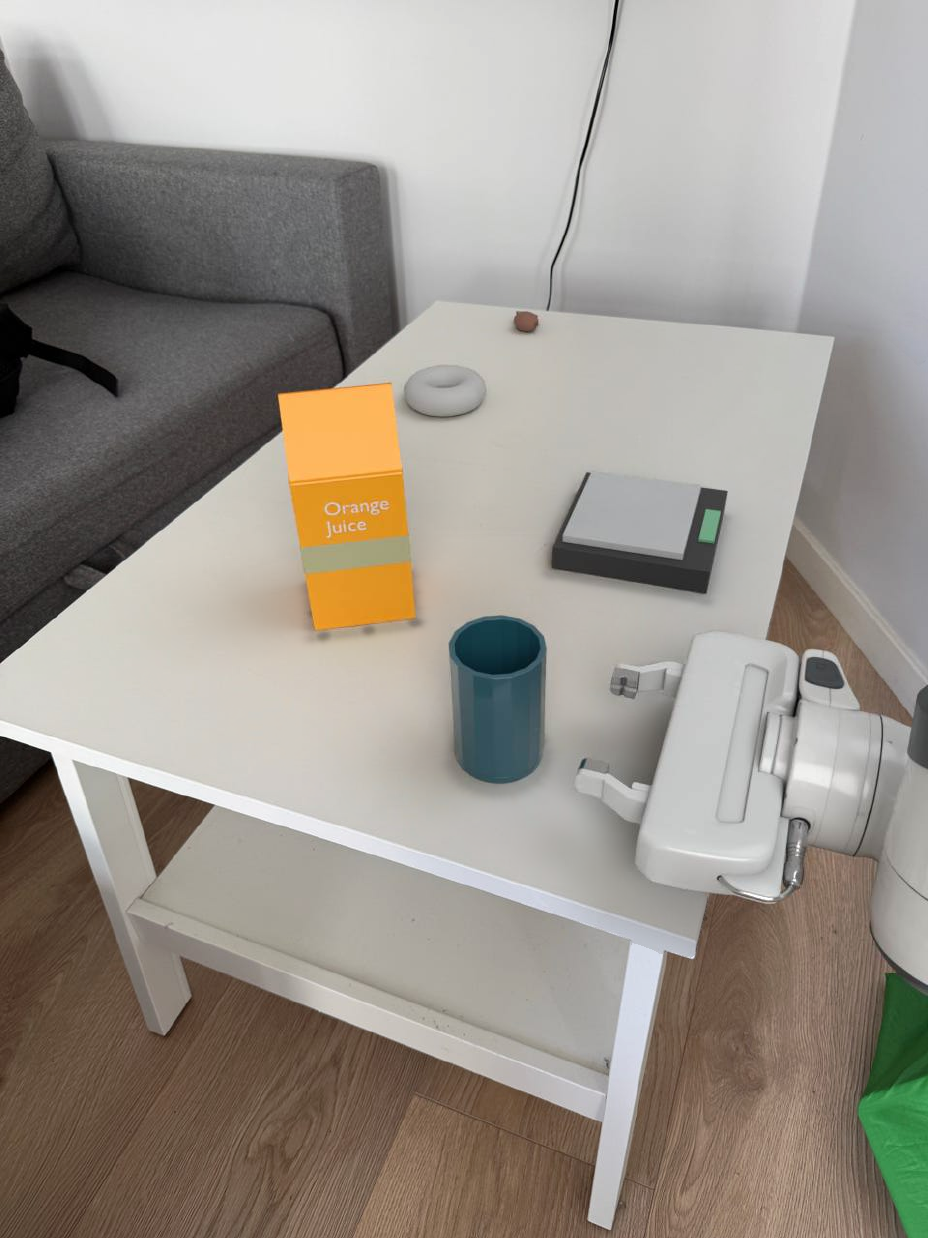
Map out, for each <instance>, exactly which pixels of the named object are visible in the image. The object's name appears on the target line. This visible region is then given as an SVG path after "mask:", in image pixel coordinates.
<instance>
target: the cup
mask: <svg viewBox="0 0 928 1238" xmlns="http://www.w3.org/2000/svg"><path fill="white" fill-rule="evenodd" d="M547 649H548V648H547V644H546V638H545V636H544V634H543V633H542V632H541V631H540V630H539V629H538V628H537V627H536V625H534V624H532V623H530V622H528V621H526V620H524V619H522V618H519V617H514V616H508V615H503V614H501V615H500V614H499V615H498V614H497V615H487V616H485V615H484V616H481V617H478V618H475V619H473V620H469V621H467V622H465V623H464V624H463V625H461V626H459V628H457V629H456V630H454V632H453V635H452V637H451V638H450V640H449V642H448V657H449V671H450V672H449V673H450V691H451V706H452V707H451V708H452V722H453V741H454V753H455V758H456V761H457V763H458V765H459V766H460V767H461V769H462V770H463V771H464V772H465V773H466V774H468V775H469V776H470V777H472V778H474V779H477V780H479V781H482V782H485V783H491V784H507V783H513V782H516V781H519V780H521V779H524V778H526V777H528V776H529V775H531V774H532V773H533V772H534V771H535V770H536V769H537V768H538V766H539V765H540V763H541V761H542V758H543V756H544V748H545V725H546V723H545V721H546V690H547V689H546V688H547V653H548V651H547Z"/></svg>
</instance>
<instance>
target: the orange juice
mask: <svg viewBox="0 0 928 1238" xmlns="http://www.w3.org/2000/svg"><path fill="white" fill-rule="evenodd" d="M393 392H394V391H393V384H392V382H382V383H372V384H364V385H363V384H362V385H352V386H351V385H350V386H342V387H331V388H322V389H312V390H302V391H300V390H299V391H290V392H282V393H281V392H280V393H277V397H278V404H279V413H280V419H281V428H282V435H283V436H282V437H283V443H284V451H285V458H286V466H287V472H288V475H287V476H288V487H289V493H290V497H291V503H292V510H293V515H294V520H295V526H296V532H297V538H298V541H299V551H300V557H301V563H302V568H303V574H304V577H305V582H306V587H307V594H308V599H309V604H310V605H309V606H310V610H311V616H312V621H313V627H314V631H321V630H322V631H323V630H332V629H340V628H347V627H355V626H363V625H364V626H365V625H370V624H379V623H387V622H395V621H404V620H411V619H416V605H415V596H414V595H415V594H414V585H413V583H414V582H413V571H412V555H411V544H410V534H409V527H408V516H407V504H406V493H405V483H404V482H405V481H404V471H403V465H402V458H401V449H400V442H399V441H400V440H399V434H398V425H397V416H396V409H395V400H394V393H393Z"/></svg>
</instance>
